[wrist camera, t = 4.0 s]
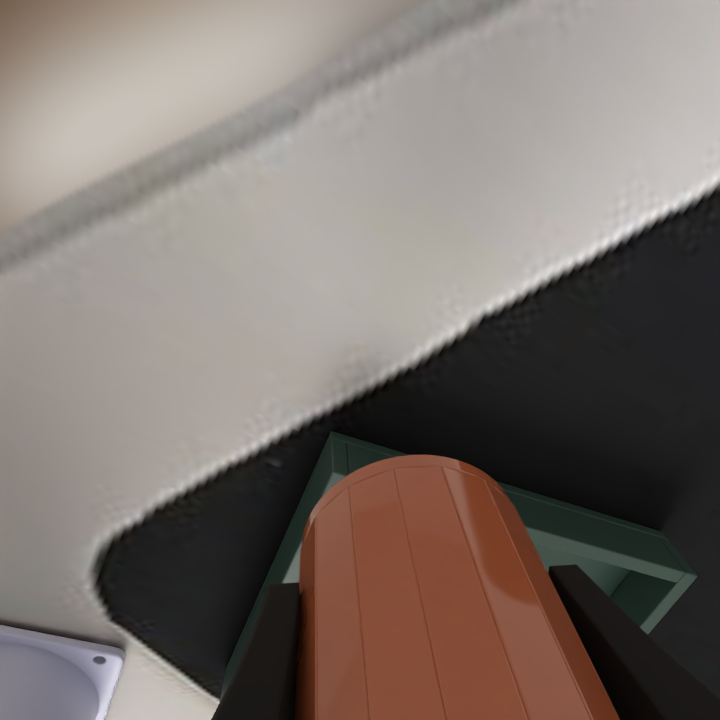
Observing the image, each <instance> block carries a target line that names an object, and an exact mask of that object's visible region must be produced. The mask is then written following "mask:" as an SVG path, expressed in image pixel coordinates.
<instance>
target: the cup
mask: <svg viewBox="0 0 720 720" xmlns="http://www.w3.org/2000/svg"><path fill="white" fill-rule="evenodd" d="M299 589H300V608H299V637H298V647H297V660H296V683H295V711H294V720H620V718H619V716H618V714H617V712H616V710H615V708H614V706H613V704H612V702H611V700H610V698H609V696H608V694H607V692H606V690H605V688H604V686H603V684H602V682H601V680H600V678H599V676H598V674H597V672H596V669H595V667H594V665H593V663H592V661H591V659H590V657H589V655H588V653H587V651H586V649H585V647H584V645H583V643H582V641H581V639H580V637H579V635H578V633H577V631H576V629H575V627H574V625H573V623H572V621H571V619H570V617H569V615H568V613H567V611H566V609H565V607H564V605H563V603H562V601H561V599H560V597H559V595H558V593H557V591H556V589H555V587H554V585H553V583H552V581H551V579H550V576H549V574H548V572H547V570H546V568H545V566H544V564H543V562H542V560H541V558H540V556H539V554H538V552H537V550H536V548H535V546H534V544H533V542H532V540H531V538H530V536H529V534H528V532H527V530H526V528H525V526H524V524H523V522H522V520H521V518H520V516H519V514H518V512H517V510H516V508H515V506H514V505H513V503H512V502H511V501H510V499H509V497H508V495H507V494H506V493H505V491H504V490H503V488H502V487H501V486H500V485H499V484H498V483H497V482H496V481H495V480H494V479H493V478H491V477H490V476H489V475H487V474H486V473H485V472H483V471H482V470H480V469H478V468H476V467H474V466H472V465H470V464H468V463H465V462H462V461H460V460H457V459H452V458H448V457H444V456H436V455H405V456H397V457H393V458H388V459H383V460H380V461H377V462H374V463H371V464H369V465H366V466H364V467H362V468H360V469H358V470H356V471H354V472H352V473H351V474H349V475H347V476H346V477H344V478H343V479H341V480H340V481H339V482H338V483H336V484H335V485H334V486H332V487H331V488H330V489H329V490H328V491H327V492H326V493H325V494H324V495H323V496H322V498H321V499H320V500H319V502H318V503H317V504H316V506H315V507H314V509H313V511H312V512H311V514H310V516H309V518H308V520H307V523H306V526H305V529H304V533H303V538H302V547H301V551H300V570H299Z"/></svg>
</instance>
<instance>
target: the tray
mask: <svg viewBox="0 0 720 720" xmlns="http://www.w3.org/2000/svg"><path fill="white" fill-rule="evenodd" d="M405 455H409V454H406V453H402V452H399V451H396V450H392V449H389V448H386V447H383V446H379V445H376V444H373V443H370V442H366V441H363V440H360V439H356V438H353V437H350V436H347V435H343V434H340V433H337V432H333V431H331V432H330V434H329V437H328V439H327V441H326V443H325V446H324V448H323V450H322V452H321V455H320V457H319V459H318V461H317V464H316V466H315V468H314V470H313V473H312V475H311V477H310V479H309V482H308V484H307V486H306V489H305V491H304V493H303V495H302V498H301V500H300V502H299V504H298V507H297V509H296V511H295V513H294V516H293V518H292V520H291V522H290V525H289V527H288V529H287V531H286V534H285V536H284V538H283V540H282V543H281V545H280V547H279V549H278V552H277V554H276V556H275V558H274V561H273V563H272V565H271V567H270V570H269V572H268V574H267V576H266V579H265V581H264V583H263V585H262V588H261V590H260V592H259V595H258V597H257V599H256V601H255V604H254V606H253V608H252V610H251V613H250V615H249V617H248V619H247V622H246V624H245V626H244V628H243V631H242V633H241V635H240V637H239V640H238V642H237V644H236V646H235V649H234V651H233V653H232V655H231V658H230V660H229V662H228V664H227V667H226V669H225V674H224V681H223V687H222V693H221V699H220V702H221V700H222V698H223V696H224V694H225V692H226V690H227V688H228V685H229V683H230V681H231V679H232V677H233V675H234V672H235V670H236V668H237V665H238V663H239V661H240V659H241V656H242V654H243V652H244V649H245V647H246V645H247V642H248V640H249V637H250V634H251V632H252V629H253V627H254V624H255V621H256V618H257V616H258V613H259V610H260V606H261V603H262V600H263V596H264V592H265V589H266V588H267V587H268V586H269V585H270V584H282V583H297V582H299V570H300V551H301V547H302V538H303V533H304V529H305V526H306V523H307V520H308V518H309V516H310V514H311V512H312V511H313V509H314V507H315V506H316V504H317V503H318V502H319V500H320V499H321V498H322V496H323V495H324V494H325V493H326V492H327V491H328V490H329V489H330V488H331V487H332V486H334V485H335V484H336V483H338V482H339V481H340V480H341V479H343V478H344V477H346V476H347V475H349V474H351V473H352V472H354V471H356V470H358V469H360V468H362V467H364V466H366V465H369V464H371V463H374V462H377V461H380V460H383V459H388V458H393V457H397V456H405ZM496 482H497V481H496ZM497 483H498V484H499V485H500V486H501V487H502V488H503V490H504V491H505V493H506V494H507V495H508V497H509V499H510V501H511V502H512V503H513V505H514V506H515V508H516V510H517V512H518V514H519V516H520V518H521V520H522V522H523V524H524V526H525V528H526V530H527V532H528V534H529V536H530V538H531V540H532V542H533V544H534V546H535V548H536V550H537V552H538V554H539V556H540V558H541V560H542V562H543V564H544V566H545V568H546V570H547V572H548V571H549V566H558V565H573V564H577V565H578V566H579V567H580V568H581V569H582V570H583V571H584V572H585V573H586V574H587V575H588V576H589V577H590V578H591V579H592V580H593V581H594V582H595V583H596V584H597V585H598V586H599V587H600V588H601V589H602V590H603V591H604V592H605V593H606V594H607V595H608V596H609V597H610V598H611V599H612V600H613V601H614V602H615V603H616V604H617V605H618V606H619V607H620V608H621V609H622V610H623V611H624V612H625V613H626V614H627V615H628V616H629V617H630V618H631V619H632V620H633V621H634V622H635V623H636V624H637V625H638V626H639V627H640V628H641V629H642V630H643V631H644V632H645V633H646V634H649V632H650V631H651V630H652V629H653V628H654V627H655V625H656V624H657V623H658V622H659V621H660V620H661V618H662V617H663V616H664V615H665V614H666V612H667V611H668V610H669V609H670V608H671V607H672V605H673V604H674V603H675V602H676V601H677V600H678V598H679V597H680V596H681V595H682V594H683V593H684V591H685V590H686V589H687V588H688V587H689V585H690V584H691V583H692V582H693V581H694V580H695V578H696V577H697V575H696V574H695V573H694V571H693V570H692V569H691V568H690V566H689V565H688V564H687V563H686V561H685V560H684V559H683V558H682V556H681V555H680V554H679V553H678V551H677V550H676V549H675V548H674V546H673V545H672V544H671V543H670V541H669V540H668V539H667V538H666V536H665V535H664V534H663V533H662V532H661V531H658V530H655V529H652V528H648V527H645V526H642V525H639V524H635V523H632V522H629V521H625V520H622V519H619V518H616V517H612V516H609V515H606V514H602V513H599V512H596V511H593V510H589V509H586V508H583V507H579V506H576V505H573V504H570V503H566V502H563V501H560V500H556V499H553V498H550V497H547V496H543V495H540V494H537V493H534V492H530V491H527V490H524V489H520V488H517V487H514V486H511V485H507V484H504V483H501V482H497Z"/></svg>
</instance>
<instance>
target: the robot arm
mask: <svg viewBox="0 0 720 720" xmlns="http://www.w3.org/2000/svg"><path fill="white" fill-rule="evenodd" d="M548 574H549V576H550V579H551V581H552V583H553V585H554V587H555V589H556V591H557V593H558V595H559V597H560V599H561V601H562V603H563V605H564V607H565V609H566V611H567V613H568V615H569V617H570V619H571V621H572V623H573V625H574V627H575V629H576V631H577V633H578V635H579V637H580V639H581V641H582V643H583V645H584V647H585V649H586V651H587V653H588V655H589V657H590V659H591V661H592V663H593V665H594V667H595V669H596V672H597V674H598V676H599V678H600V680H601V682H602V684H603V686H604V688H605V690H606V692H607V694H608V696H609V698H610V700H611V702H612V704H613V706H614V708H615V710H616V712H617V714H618V716H619V718H620V720H720V699H719V698H718V697H717V696H715V695H714V694H713V693H712V692H711V691H710V690H708V689H707V688H706V687H705V686H704V685H703V684H701V683H700V682H699V681H698V680H697V679H696V678H694V677H693V676H692V675H691V674H690V673H689V672H688V671H686V670H685V669H684V668H683V667H682V666H681V665H680V664H679V663H678V662H676V661H675V660H674V659H673V658H672V657H671V656H670V655H669V654H668V653H667V652H666V651H665V650H663V649H662V648H661V647H660V646H659V645H658V644H657V643H656V642H655V641H654V640H653V639H652V638H651V637H650V636H649V635H648V634H646V633H645V632H644V631H643V630H642V629H641V628H640V627H639V626H638V625H637V624H636V623H635V622H634V621H633V620H632V619H631V618H630V617H629V616H628V615H627V614H626V613H625V612H624V611H623V610H622V609H621V608H620V607H619V606H618V605H617V604H616V603H615V602H614V601H613V600H612V599H611V598H610V597H609V596H608V595H607V594H606V593H605V592H604V591H603V590H602V589H601V588H600V587H599V586H598V585H597V584H596V583H595V582H594V581H593V580H592V579H591V578H590V577H589V576H588V575H587V574H586V573H585V572H584V571H583V570H582V569H581V568H580V567H579V566H578V565H577V564H573V565H558V566H549V571H548ZM299 608H300V589H299V582H297V583H282V584H270V585H269V586H268V587H267V588H266V589H265V592H264V596H263V600H262V603H261V606H260V610H259V613H258V616H257V618H256V621H255V624H254V627H253V629H252V632H251V634H250V637H249V640H248V642H247V645H246V647H245V649H244V652H243V654H242V656H241V659H240V661H239V663H238V665H237V668H236V670H235V672H234V675H233V677H232V679H231V681H230V683H229V685H228V688H227V690H226V692H225V694H224V696H223V698H222V700H221V702H220V704H219V706H218V708H217V710H216V712H215V714H214V716H213V718H212V719H211V720H294V711H295V683H296V660H297V647H298V637H299ZM125 658H126V654H125V652H124V651H123V650H121V649H120V648H117V647H112V646H107V645H102V644H97V643H91V642H86V641H81V640H76V639H71V638H66V637H61V636H55V635H50V634H45V633H40V632H35V631H30V630H25V629H20V628H14V627H9V626H4V625H0V720H105V717H106V714H107V711H108V708H109V705H110V702H111V699H112V696H113V693H114V690H115V687H116V685H117V682H118V679H119V676H120V673H121V670H122V667H123V664H124V661H125Z"/></svg>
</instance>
